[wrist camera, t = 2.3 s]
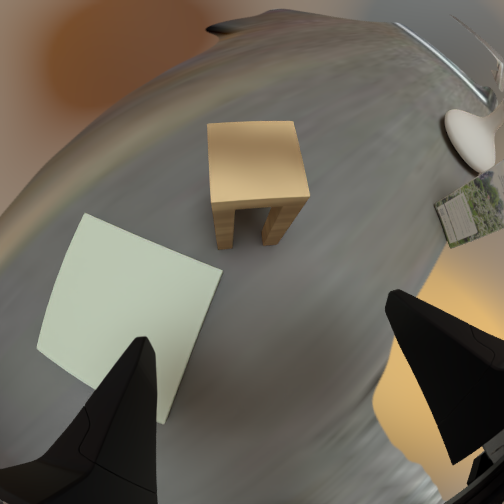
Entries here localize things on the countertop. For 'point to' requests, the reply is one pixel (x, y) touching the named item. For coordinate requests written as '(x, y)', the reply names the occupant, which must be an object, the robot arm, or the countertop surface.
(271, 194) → the wooden footstool
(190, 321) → the board
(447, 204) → the syrup box
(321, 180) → the countertop surface
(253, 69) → the countertop surface
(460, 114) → the flower in vase
